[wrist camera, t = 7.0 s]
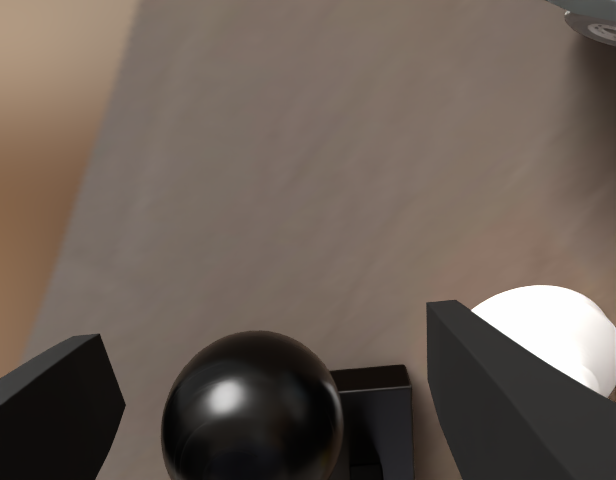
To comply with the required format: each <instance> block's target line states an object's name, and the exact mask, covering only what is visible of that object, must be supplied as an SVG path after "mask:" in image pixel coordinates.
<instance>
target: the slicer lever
mask: <svg viewBox="0 0 616 480" xmlns="http://www.w3.org/2000/svg"><path fill="white" fill-rule="evenodd" d="M343 434H344V414H343V408H342V403H341V397H340V394H339V391H338V388H337V386H336V384H335V382H334V380H333V378H332V376H331V374H330V372H329V370H328V369H327V367H326V366H325V364H324V363H323V362H322V361H321V360H320V359H319V358H318V356H316V355H315V354H314V353H313V352H312V351H311V350H310V349H309V348H307V347H306V346H304V345H303V344H302V343H300V342H298V341H296V340H294V339H292V338H291V337H288V336H285V335H282V334H279V333H275V332H270V331H246V332H240V333H235V334H232V335H229V336H226V337H223V338H221V339H219V340H217V341H215V342H214V343H212V344H210V345H209V346H207V347H205V348H204V349H203V350H201V351H200V352H199V353H198V354H197V355H195V356H194V357H193V359H192V360H191V361H190V362H189V363H188V364H187V365H186V366H185V367H184V368H183V370H182V371H181V373H180V374H179V376H178V377H177V379H176V381H175V382H174V384H173V386H172V388H171V390H170V392H169V395H168V398H167V401H166V404H165V408H164V411H163V417H162V425H161V445H162V453H163V458H164V462H165V466H166V469H167V471H168V474H169V476H170V478H171V480H329V479H330V477H331V475H332V473H333V471H334V469H335V467H336V464H337V462H338V459H339V455H340V451H341V447H342V443H343Z"/></svg>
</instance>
